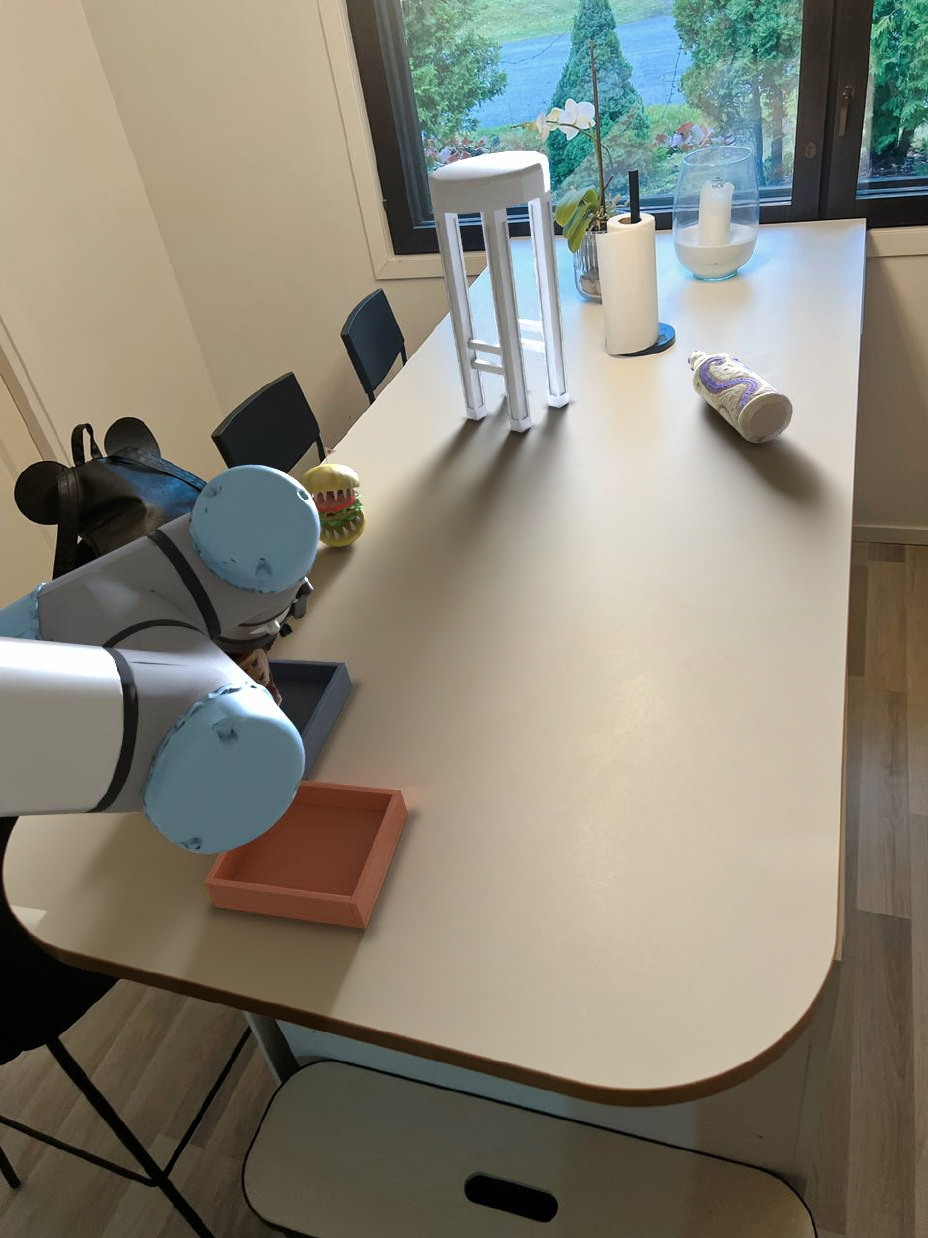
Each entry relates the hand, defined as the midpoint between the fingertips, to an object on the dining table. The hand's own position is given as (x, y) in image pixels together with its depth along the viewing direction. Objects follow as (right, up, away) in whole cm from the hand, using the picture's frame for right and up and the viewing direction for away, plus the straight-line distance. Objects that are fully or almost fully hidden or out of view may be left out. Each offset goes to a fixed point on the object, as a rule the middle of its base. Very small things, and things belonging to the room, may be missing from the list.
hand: (221, 661), depth 85 cm
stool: (+32, +37, +51) cm, 71 cm away
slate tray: (+3, -7, +2) cm, 8 cm away
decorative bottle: (+63, +34, +41) cm, 82 cm away
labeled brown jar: (+3, -5, 0) cm, 6 cm away
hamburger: (+8, +15, +29) cm, 34 cm away
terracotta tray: (+11, -16, -12) cm, 23 cm away
